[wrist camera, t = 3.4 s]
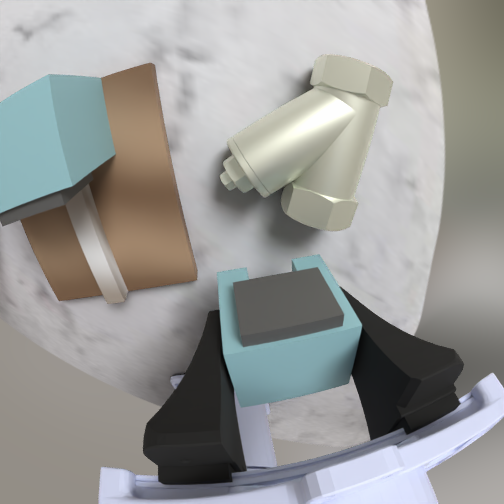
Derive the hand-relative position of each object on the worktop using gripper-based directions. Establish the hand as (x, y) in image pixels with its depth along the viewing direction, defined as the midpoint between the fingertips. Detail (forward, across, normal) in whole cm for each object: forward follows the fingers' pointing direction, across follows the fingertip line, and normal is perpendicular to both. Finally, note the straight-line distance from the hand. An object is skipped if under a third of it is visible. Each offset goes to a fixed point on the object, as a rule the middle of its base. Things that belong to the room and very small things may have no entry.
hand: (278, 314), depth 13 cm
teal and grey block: (+2, 0, 0) cm, 2 cm away
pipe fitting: (+5, -2, -8) cm, 10 cm away
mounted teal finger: (+4, +9, -10) cm, 14 cm away
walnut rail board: (+5, +9, -6) cm, 12 cm away
